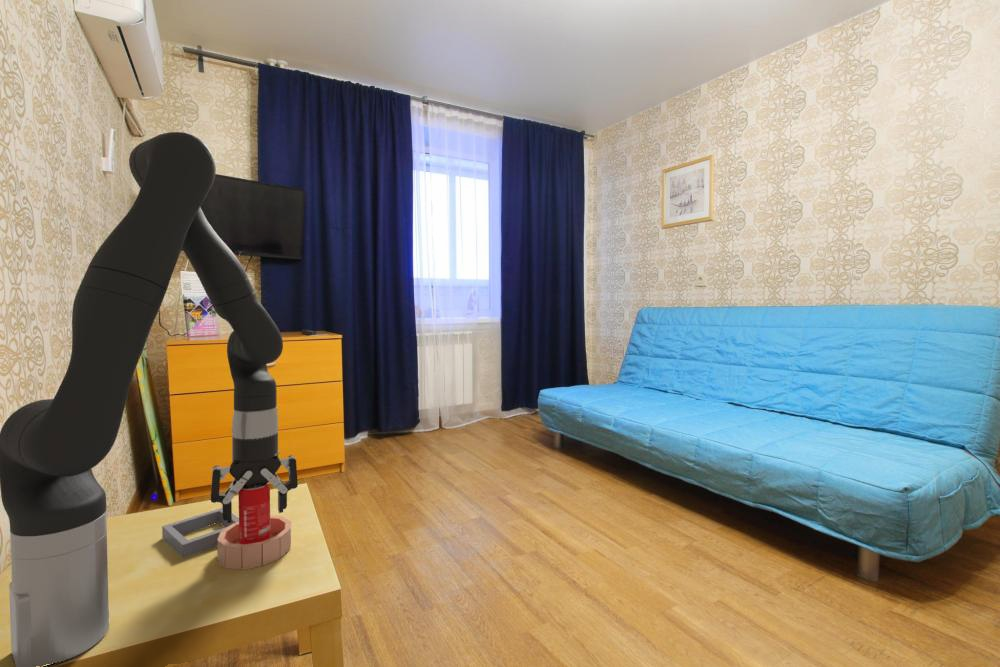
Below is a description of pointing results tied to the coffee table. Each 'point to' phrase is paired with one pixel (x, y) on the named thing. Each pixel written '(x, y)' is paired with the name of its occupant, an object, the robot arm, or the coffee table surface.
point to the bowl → (254, 546)
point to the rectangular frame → (177, 529)
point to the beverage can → (254, 514)
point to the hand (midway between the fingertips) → (255, 516)
